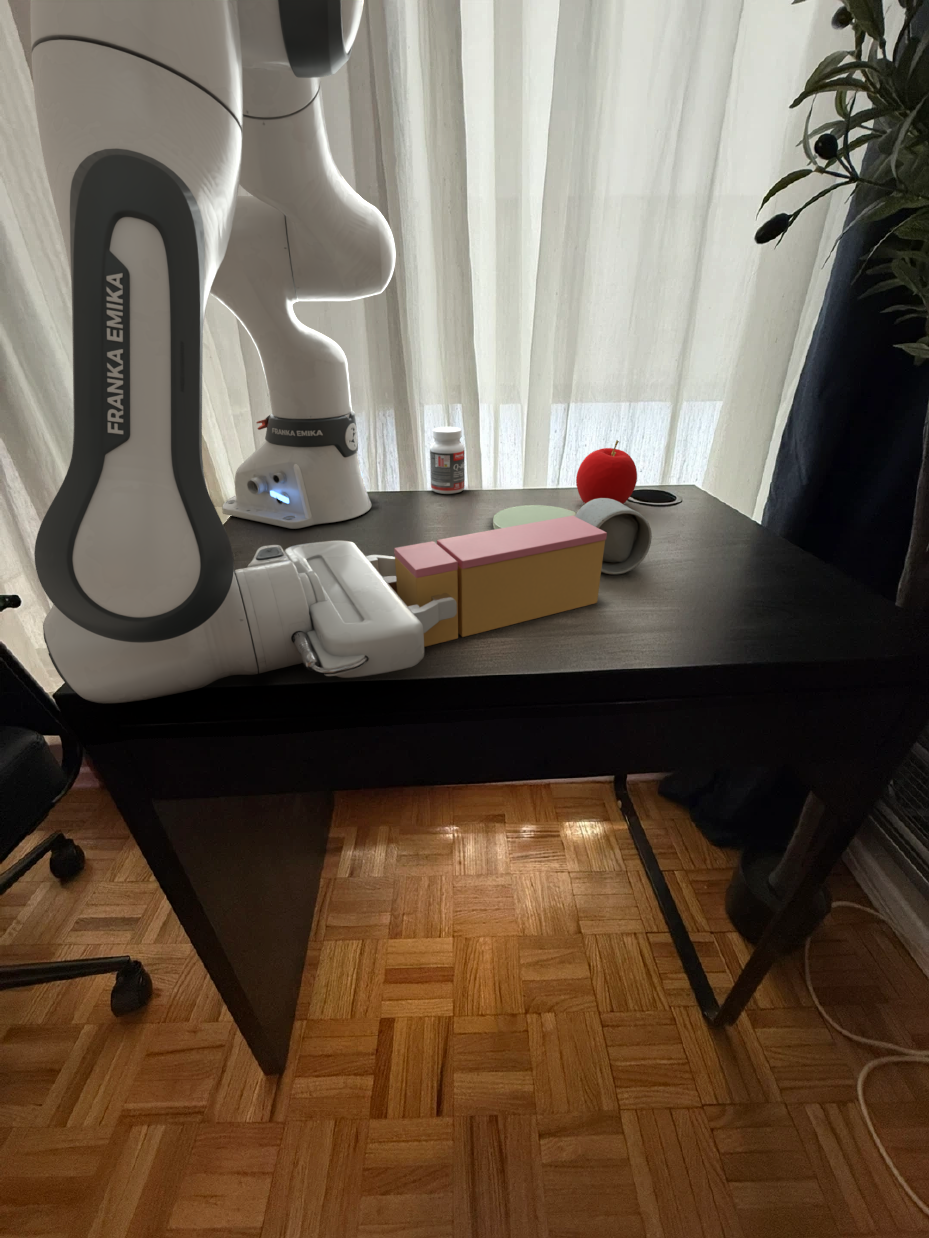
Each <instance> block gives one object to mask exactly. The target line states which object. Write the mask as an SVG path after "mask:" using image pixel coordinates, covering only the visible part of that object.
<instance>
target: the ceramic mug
mask: <svg viewBox="0 0 929 1238" xmlns="http://www.w3.org/2000/svg"><path fill="white" fill-rule="evenodd" d="M575 517H577V518H579V519H581V520H583V521H585V522H587V523H589V524H591V525H593V526H595V527H597V528H599V529H601V530H603V531H605V532H607V537H606V540H605V545H604V553H603V561H602V569H601V573H603V574H606V575H623V574H625V573H628V572H631V571H632V570H634V569H635V568H636V567H638V566H639V565H640V564H641V563H642V562H643V561H644V559H646V557H647V555H648V553H649V551H650V548H651V546H652V545H651V544H652V537H653V536H652V529H651V526H650V523H649V521H648V520H647V519H646V517H645V516H644V515H643V514H641V513H640V512H638V511H636V510H634V509H633V508H630V507H629V506H627V505H625V504H622V503H620V502H618V501H616V500H613V499H609V498H598V499H593V500H591V501H589V502H587V503H586V504H585V503H584V504H583V505H582V506H580V507H579V508H578V510H577V511H576V515H575Z"/></svg>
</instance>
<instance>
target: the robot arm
mask: <svg viewBox="0 0 929 1238" xmlns="http://www.w3.org/2000/svg"><path fill="white" fill-rule="evenodd" d="M29 5H30V9H29V10H30V12H29V16H30V19H29V20H30V21H29V22H30V44H31V45H30V51H31V69H32V84H33V95H34V105H35V113H36V120H37V127H38V135H39V140H40V145H41V152H42V157H43V162H44V167H45V171H46V176H47V180H48V184H49V188H50V192H51V197H52V201H53V205H54V210H55V213H56V216H57V221H58V224H59V229H60V232H61V237H62V240H63V244H64V248H65V252H66V258H67V263H68V269H69V275H70V280H71V281H70V282H71V284H70V285H71V287H70V288H71V323H72V327H71V330H72V333H71V334H72V396H73V397H72V403H73V405H72V406H73V435H72V450H71V451H72V452H71V457H70V462H69V466H68V468H67V471H66V474H65V476H64V479H63V481H62V483H61V485H60V488H59V489H58V491H57V492H56V494H55V497H54V498H53V500H52V502H51V504H50V505H49V507H48V508H47V510H46V512H45V514H44V516H43V519H42V521H41V523H40V525H39V528H38V532H37V534H36V539H35V544H34V554H33V555H34V566H35V571H36V575H37V578H38V580H39V581H38V582H39V583H40V585H41V587H42V589H43V591H44V593H45V595H46V596H47V598H48V599H49V601H50V602H51V603H52V606H51V608H50V610H49V611H48V613H47V615H46V616H45V617H44V620H43V625H42V631H43V641H44V643H45V646H46V649H47V652H48V657H49V659H50V661H51V664H52V665H53V667H54V668H55V671H56V672H57V674H58V676H59V677H60V678H61V679H62V681H63V682H64V683H65V684H66V686H67V687H68V688H69V690H71V691H72V692H74V693H75V694H77V695H78V696H79V697H81V698H82V699H84V700H86V701H89V702H92V703H96V704H97V703H98V704H120V703H121V704H123V703H130V702H140V701H145V700H150V699H155V698H161V697H166V696H167V697H168V696H171V695H175V694H180V693H185V692H190V691H193V690H198V689H201V688H205V687H206V686H209V685H210V684H212V683H214V682H216V681H218V680H220V679H224V678H226V677H231V676H238V675H239V676H240V675H241V676H253V675H259V674H263V673H266V672H267V673H268V672H271V671H275V670H279V669H284V668H288V667H291V666H296V665H301V664H302V665H303V666H304V668H305V669H306V670H308V671H309V672H315V673H319V674H322V675H324V676H326V677H336V678H337V677H338V678H343V679H351V678H352V679H353V678H362V677H369V676H376V675H381V674H382V675H383V674H387V673H391V672H396V671H402V670H405V669H410V668H413V667H415V666H416V665H418V664H419V663H420V662H421V661H422V660H423V659H424V657H425V647H424V633H425V632H427V631H428V630H429V629H430V628H432V627H433V626H434V625H435V624H436V623H438V622H439V621H441V620H445V619H449V618H453V617H454V616H455V615H456V613H457V602H456V601H455V600H454V599H453V598H452V597H451V596H450V595H449V594H448V593H443V594H441V595H434V596H431V602H429V603H427V604H426V605H424V606H422V607H419V605H411V606H407V605H406V604H405V603H404V602H403V600H402V599H401V598H400V597H399V596H398V595H397V593H396V592H395V591H394V590H393V589H392V587H391V586H390V585H389V584H388V583H387V581H386V580H385V579H384V578H383V577H386V576H396V567H395V556H391V555H382V554H371V555H365V554H364V553H363V552H362V550H361V549H360V548H359V547H358V546H357V544H356V543H355V542H354V541H348V540H341V539H340V540H339V539H338V540H337V539H336V540H326V541H317V542H309V543H300V544H296V545H292V546H289V547H287V548H285V549H283V547H282V546H281V545H280V544H270V545H263V546H261V547H258V548H257V550H256V552H255V554H254V556H253V558H252V560H251V561H250V563H248V565H247V567H241V568H238V569H235V562H234V561H235V560H234V553H233V548H232V545H231V541H230V538H229V536H228V533H227V530H226V528H225V526H224V524H223V521H222V519H221V517H220V515H219V513H218V511H217V509H216V507H215V505H214V503H213V501H212V499H211V495H210V493H209V491H208V490H209V489H208V486H207V482H206V477H205V472H204V462H203V461H204V459H203V362H204V361H203V354H204V353H203V352H204V351H203V350H204V349H203V348H204V347H203V346H204V345H203V344H204V343H203V341H204V326H205V318H206V317H205V316H206V311H207V305H208V300H209V296H211V297H213V298H215V300H217V301H219V302H220V303H221V304H222V305H224V307H226V308H227V309H228V310H229V311H230V312H231V313H232V314H233V315H234V316H235V317H236V319H237V320H238V321H239V322H240V324H241V325H242V326H243V327H244V329H245V330H246V331H247V333H248V335H249V336H250V338H251V340H252V342H253V344H254V346H255V348H256V350H257V353H258V356H259V359H260V362H261V366H262V369H263V374H264V377H265V383H266V386H267V387H266V388H267V391H268V397H269V402H270V409H271V414H269V415H268V416H266V417H265V418H264V419H261V420H258V421H256V424H261V425H259V426H258V427H257V430H258V431H261V430H265V429H266V431H265V437H264V440H265V441H264V442H263V443H261V445H260V446H259V447H257V449H256V450H254V452H253V453H252V454H250V456H248V457H247V458H246V459H245V460H244V461H243V462H242V463H241V464H240V465H239V466H238V467H237V469H236V471H235V475H234V493H235V495H234V496H232V497H231V498H229V499H228V500H226V501H225V502H223V504H222V507H221V512H222V514H223V515H226V516H231V517H235V518H236V517H237V518H240V519H244V520H250V521H252V522H253V521H254V522H259V523H263V524H266V525H267V524H268V525H272V526H278V527H282V528H287V529H291V530H294V529H295V530H296V529H303V528H307V527H311V526H315V525H322V524H329V523H336V522H342V521H347V520H350V519H355V518H357V517H359V516H361V515H364V514H365V513H367V512H368V511H369V510H371V508H372V502H371V499H370V497H369V494H368V491H367V488H366V485H365V481H364V478H363V472H362V470H361V465H360V460H359V456H358V452H359V435H358V428H357V427H358V426H357V418H356V412H355V411H354V410H353V408H352V398H351V397H352V395H351V387H350V376H349V365H348V359H347V356H346V355H345V354H346V353H345V352H344V351H343V349H342V348H341V346H340V345H339V344H338V343H337V342H336V341H334V340H333V339H332V338H330V337H328V336H326V335H325V334H324V333H321V332H319V331H318V330H315V329H313V328H310V327H309V326H306V325H305V324H303V323H302V322H301V321H300V320H299V319H298V318H297V316H296V314H295V311H294V308H293V304H295V303H296V302H297V303H298V302H350V301H354V300H360V299H364V298H368V297H372V296H377V295H380V294H382V293H383V292H384V291H385V289H386V288H387V287H388V285H389V283H390V282H391V280H392V277H393V274H394V270H395V267H396V266H395V265H396V257H397V256H396V255H397V254H396V245H395V239H394V234H393V232H392V229H391V227H390V225H389V223H388V221H387V220H386V218H385V217H384V215H383V214H382V213H381V211H380V210H379V209H378V208H377V207H376V206H375V205H373V204H371V203H370V202H368V201H367V200H365V199H364V198H362V196H360V195H359V194H358V193H357V192H356V191H355V190H354V189H353V188H352V187H351V185H349V183H348V182H347V181H346V179H345V178H344V176H343V175H342V173H341V171H340V170H339V168H338V166H337V164H336V162H335V160H334V157H333V153H332V149H331V146H330V140H329V134H328V129H327V121H326V116H325V107H324V99H323V89H322V78H323V77H324V78H325V77H329V76H333V75H335V74H336V73H337V72H338V71H339V70H340V69H341V68H342V67H343V66H344V65H345V64H346V63H347V62H348V61H349V60H350V58H351V55H352V51H353V47H354V46H353V45H354V43H355V40H356V37H357V34H358V32H359V28H360V23H361V20H362V15H363V8H364V0H30V4H29ZM239 186H240V187H241V188H242V189H244V190H245V191H246V192H247V193H249V194H250V195H238V194H239V190H240V189H239Z"/></svg>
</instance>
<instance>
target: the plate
mask: <svg viewBox="0 0 929 1238" xmlns="http://www.w3.org/2000/svg"><path fill="white" fill-rule="evenodd" d="M576 513H577V511H576V512H575V511H573V510H570V509H567V508H564V507H559V506H553V505H545V504H544V505H543V504H525V505H517V506H511V507H508V508H504V509H501V510H499V511H497V512H496V513H495V514H494V516H493V518H492V528H493V530H495V529H501V528H506V527H512V526H517V525H523V524H529V523H534V522H540V521H545V520H551V519H557V518H562V517H568V516H575V515H576Z"/></svg>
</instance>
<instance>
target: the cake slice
mask: <svg viewBox="0 0 929 1238" xmlns="http://www.w3.org/2000/svg"><path fill="white" fill-rule="evenodd" d="M393 552H394V557H395V567H396V581H397V595H398V596H399V597H400V598H401V599H402V600H403V602H404V603H405V604H406V605H407V606H411V605H419V607H422V606H424V605H426V604H427V603H429V602H431V596H434V595H441V594H443V593H448V594H449V595H450V596H451V597H452V598H453V599H454V600H455V601H456V602H457V613H456V615H455V616H454V617H453V618H449V619H445V620H441V621H439V622H438V623H436V624H435V625H434V626H433V627H432V628H430V629H429V630H428V631H427V632H425V633H424V648H426V647H430V646H433V645H437V644H441V643H446V642H449V641H453V640H457V639H458V638H459V633H458V580H457V569H458V562H457V561H456V560H455V559H454V558H453V557H451V556H450V555H449V554H448V553H447V552H445V551H444V550H443V549H442V548H441V547H440V546H438V545H437V542H435V541H434V540H431V541H426V542H421V543H415V544H409V545H403V546H398V547H394V548H393Z"/></svg>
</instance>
